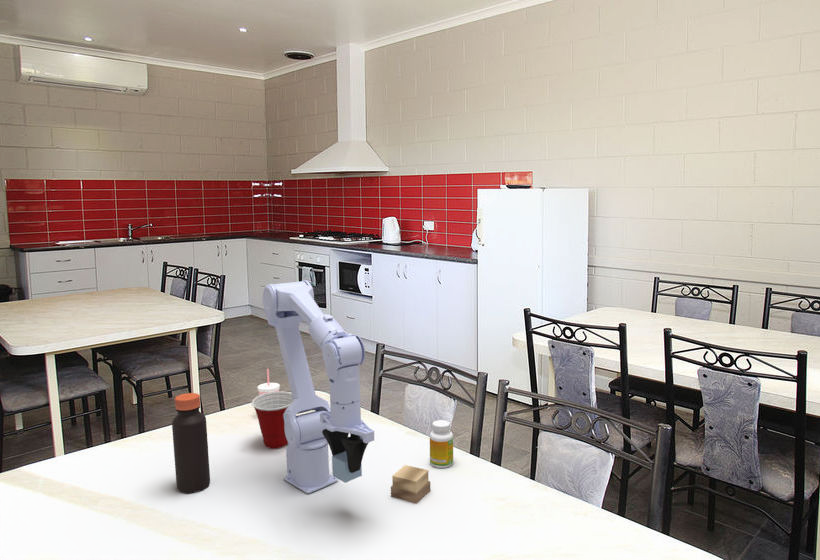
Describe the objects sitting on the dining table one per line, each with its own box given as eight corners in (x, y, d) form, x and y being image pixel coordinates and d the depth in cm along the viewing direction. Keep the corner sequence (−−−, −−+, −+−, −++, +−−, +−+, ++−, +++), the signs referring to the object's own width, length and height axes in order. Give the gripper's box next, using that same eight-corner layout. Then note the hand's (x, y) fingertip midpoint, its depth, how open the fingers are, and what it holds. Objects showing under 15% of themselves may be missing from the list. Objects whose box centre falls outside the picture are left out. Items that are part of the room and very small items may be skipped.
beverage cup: (255, 419, 163) (252, 371, 161) (264, 412, 169) (261, 365, 167) (276, 421, 162) (273, 372, 160) (284, 413, 168) (282, 365, 166)
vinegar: (197, 475, 131) (191, 389, 128) (216, 483, 127) (211, 395, 124) (170, 488, 125) (163, 398, 122) (189, 497, 121) (182, 404, 118)
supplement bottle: (451, 469, 132) (451, 428, 130) (428, 467, 133) (427, 426, 131) (454, 459, 137) (454, 419, 135) (431, 457, 138) (431, 418, 137)
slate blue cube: (332, 475, 113) (331, 456, 113) (349, 469, 116) (348, 449, 115) (345, 482, 110) (344, 462, 110) (361, 475, 113) (361, 456, 112)
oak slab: (392, 487, 120) (392, 475, 119) (405, 476, 124) (405, 464, 124) (416, 493, 117) (416, 481, 117) (428, 481, 122) (428, 470, 122)
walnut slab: (390, 498, 120) (390, 486, 120) (405, 485, 125) (405, 474, 125) (416, 505, 117) (416, 494, 117) (430, 492, 122) (430, 481, 122)
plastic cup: (248, 453, 142) (245, 406, 140) (261, 435, 152) (259, 391, 151) (292, 453, 141) (290, 406, 139) (302, 435, 152) (300, 391, 150)
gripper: (306, 395, 114) (308, 461, 115) (352, 414, 103) (354, 487, 105) (335, 387, 118) (337, 450, 120) (382, 404, 108) (383, 474, 110)
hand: (347, 467), depth 113 cm, fingers closed on slate blue cube, 4 cm apart
